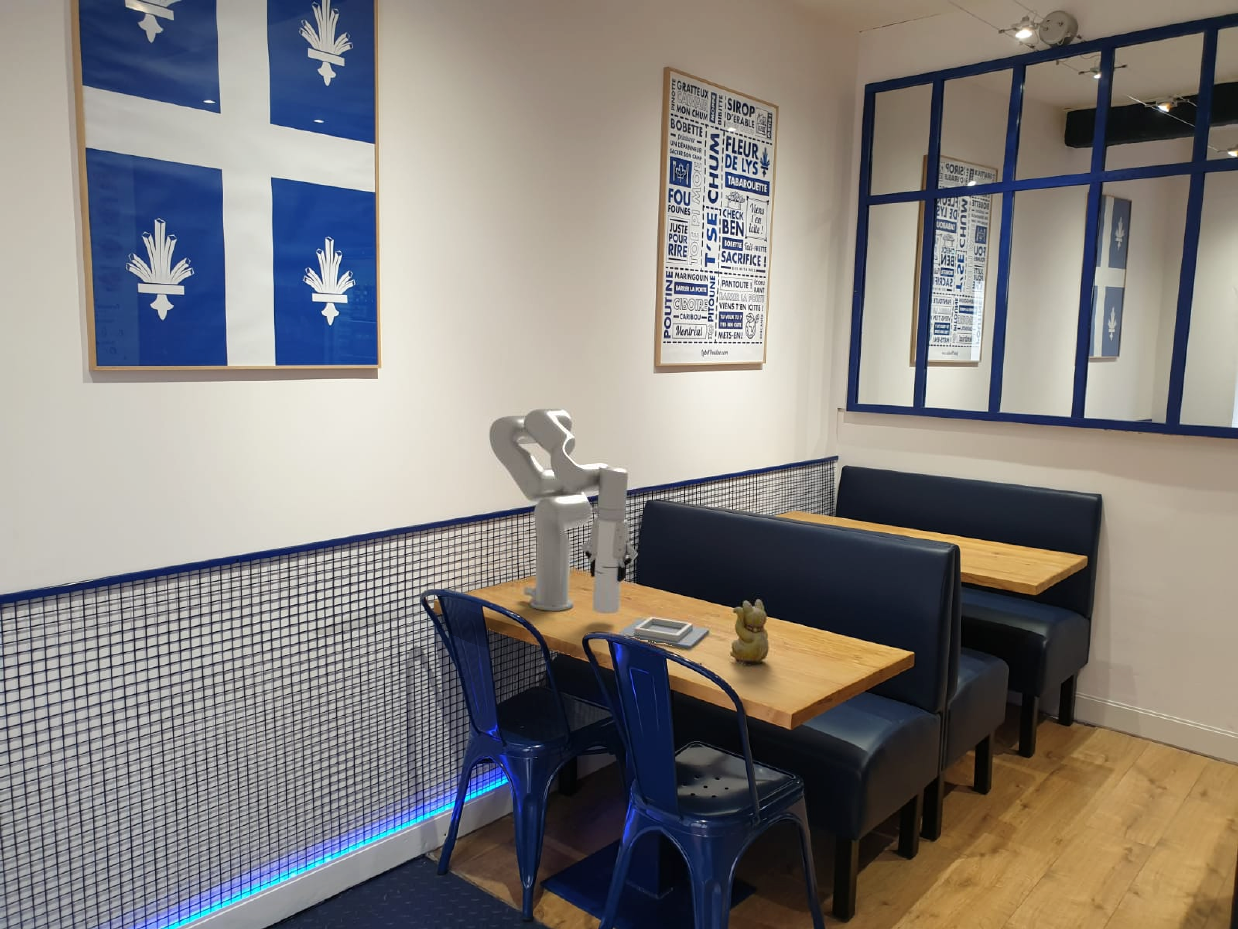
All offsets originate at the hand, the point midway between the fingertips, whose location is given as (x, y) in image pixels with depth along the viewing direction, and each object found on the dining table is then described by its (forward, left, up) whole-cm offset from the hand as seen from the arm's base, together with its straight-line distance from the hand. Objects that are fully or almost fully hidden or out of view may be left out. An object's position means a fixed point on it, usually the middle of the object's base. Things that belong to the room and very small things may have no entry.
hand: (607, 577), depth 254 cm
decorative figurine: (+44, -11, -13) cm, 47 cm away
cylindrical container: (0, 0, -9) cm, 9 cm away
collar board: (+18, -2, -13) cm, 22 cm away
